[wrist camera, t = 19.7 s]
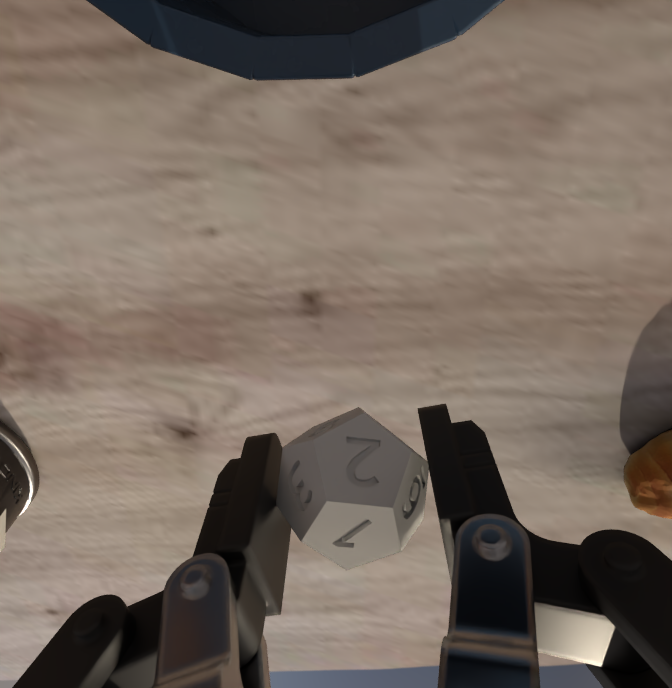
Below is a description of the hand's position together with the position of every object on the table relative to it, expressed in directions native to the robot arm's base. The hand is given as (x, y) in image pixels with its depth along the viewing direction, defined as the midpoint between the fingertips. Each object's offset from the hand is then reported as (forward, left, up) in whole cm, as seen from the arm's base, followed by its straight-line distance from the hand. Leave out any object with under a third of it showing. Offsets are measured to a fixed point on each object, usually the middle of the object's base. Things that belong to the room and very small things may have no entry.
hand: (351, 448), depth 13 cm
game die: (0, 0, 0) cm, 0 cm away
